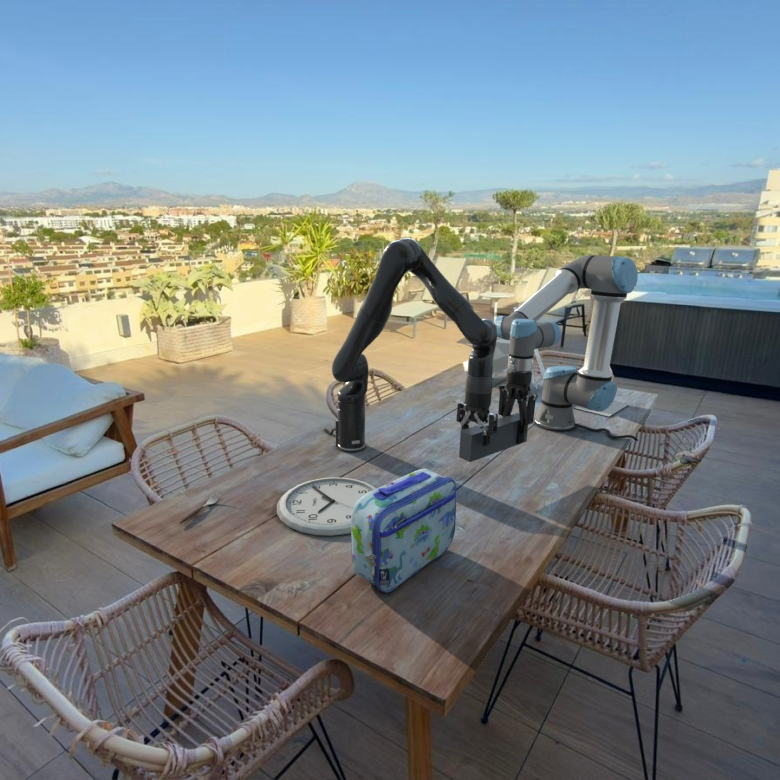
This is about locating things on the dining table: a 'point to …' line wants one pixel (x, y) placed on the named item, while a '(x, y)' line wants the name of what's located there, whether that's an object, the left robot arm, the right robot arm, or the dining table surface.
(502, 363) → the white plastic object
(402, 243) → the left robot arm
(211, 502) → the fork
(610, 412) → the invitation card
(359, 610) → the dining table surface
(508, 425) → the bar
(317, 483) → the wall clock
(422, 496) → the lunch box
